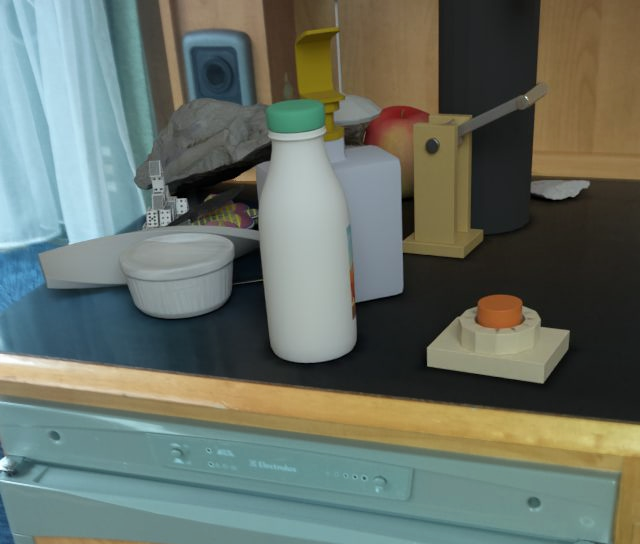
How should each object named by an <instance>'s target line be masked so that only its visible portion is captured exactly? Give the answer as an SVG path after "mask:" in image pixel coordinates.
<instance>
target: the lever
mask: <svg viewBox="0 0 640 544" xmlns="http://www.w3.org/2000/svg"><path fill="white" fill-rule="evenodd" d="M548 90H549V87H548V85H547V83H545V82H543V81H540V82H537V83H536V85H535V86H533V87H532V88H530V89H529V90H527V91H526V92H524V93H523V94H521V95H520V96H518V97H516V98H514V99H511V100H509V101H507V102H505V103H503V104H501V105H499V106H497V107H495V108H493V109H491V110H489V111H487V112H485V113H483V114H480V115H478V116H476V117H474V118H472V119H470V120H468V121H466V122H464V123H462V124H460V125H458V145H460V144H461V143H462V142H463V140H462V138H461V136H463V135H465V134H467V133H469V132H471V131H473V130H475V129H477V128H479V127H481V126H484V125H486V124H488V123H490V122H492V121H494V120H496V119H498V118H500V117H503V116H505V115H507V114H509V113H511V112H513V111H515V110H517V109H519V110H525V109H527V108H528V107H530V106H531V105H532V104H534V103H535V104H536V103H537V102H538V101H539V100H541V99H542V98H544V97H545V96H546V95H547V94H548V92H549V91H548ZM445 124H456V123H455V120H454V119H453V120H451V121H449V122H447V123H445Z"/></svg>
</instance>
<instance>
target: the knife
mask: <svg viewBox="0 0 640 544" xmlns="http://www.w3.org/2000/svg"><path fill="white" fill-rule="evenodd" d="M261 281H263V275H262V276H257V277H251V278H245V279H241V280H235V281H232V286H233V285H241V284H247V283H254V282H261Z"/></svg>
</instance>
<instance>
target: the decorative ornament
mask: <svg viewBox="0 0 640 544" xmlns="http://www.w3.org/2000/svg"><path fill="white" fill-rule="evenodd" d="M218 194H219V193H218ZM218 194H216V193H215V194H214V193H210V194H209V195H208V196H207V197H206V198H205V199H204V200H203V202H205V201H207V200H208V199H210V198H212V197H214V196H216V195H218ZM258 214H259V209H257V208H250V207H249V206H248V205H247V204H246V203H243V202H235V203H234V202H233V199H232V200H230V201H229V202H228V203H226V204H225V205H223V206H221V207H220V208H218V209H216V210H214V211H211V212H209V213H206V214H203V215H200V216H197V219H196V220H194V221H193V222H191V224H189V226H190V225H203V226H223V227H233V228H242V229H250V230H254V227H255V226H257V224H259V223H258ZM177 226H179V225H177Z"/></svg>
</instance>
